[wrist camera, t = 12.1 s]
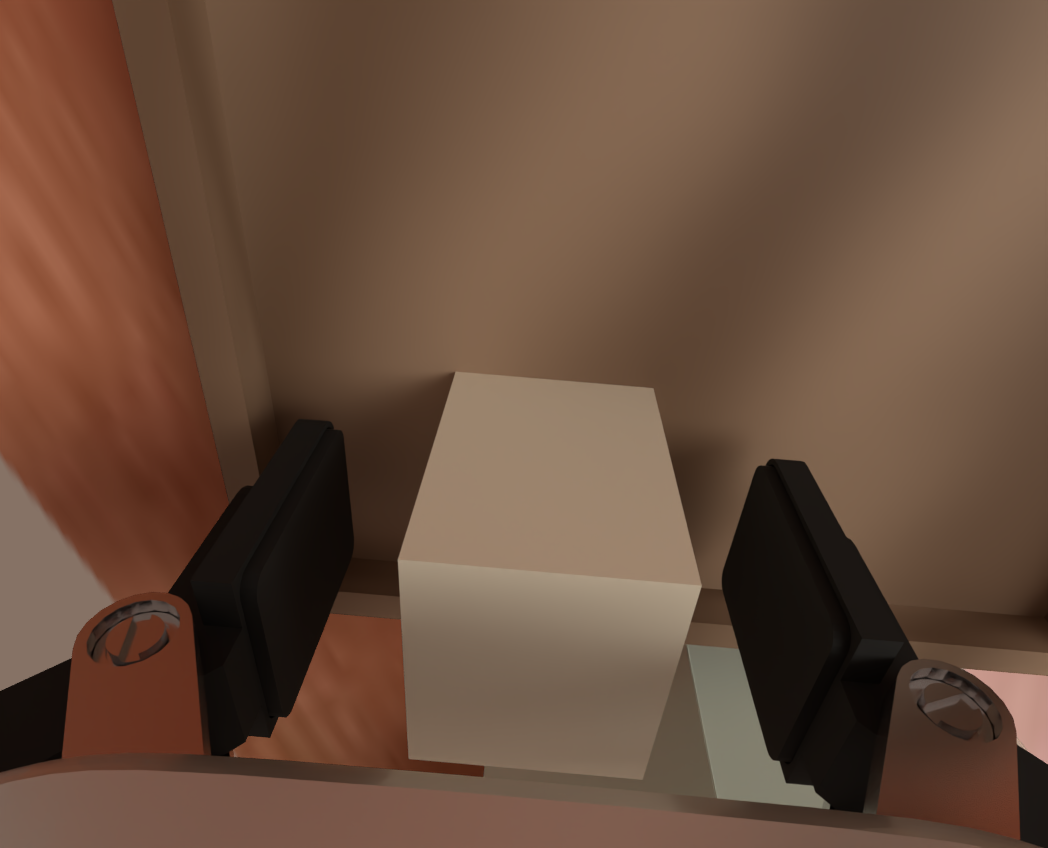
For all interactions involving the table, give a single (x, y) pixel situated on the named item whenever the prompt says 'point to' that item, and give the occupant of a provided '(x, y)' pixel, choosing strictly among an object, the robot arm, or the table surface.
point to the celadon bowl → (701, 741)
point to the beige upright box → (544, 579)
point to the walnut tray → (636, 258)
